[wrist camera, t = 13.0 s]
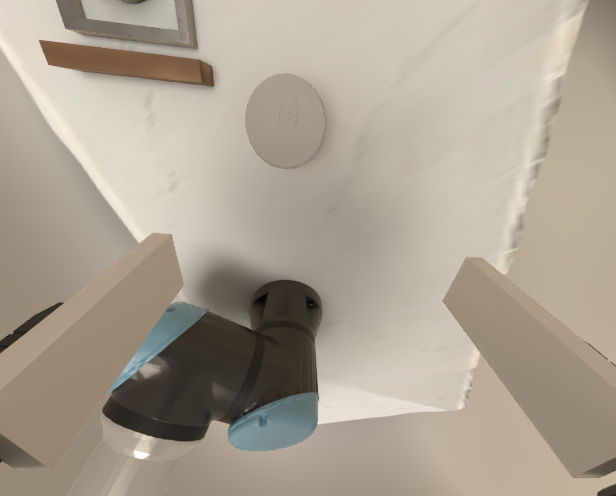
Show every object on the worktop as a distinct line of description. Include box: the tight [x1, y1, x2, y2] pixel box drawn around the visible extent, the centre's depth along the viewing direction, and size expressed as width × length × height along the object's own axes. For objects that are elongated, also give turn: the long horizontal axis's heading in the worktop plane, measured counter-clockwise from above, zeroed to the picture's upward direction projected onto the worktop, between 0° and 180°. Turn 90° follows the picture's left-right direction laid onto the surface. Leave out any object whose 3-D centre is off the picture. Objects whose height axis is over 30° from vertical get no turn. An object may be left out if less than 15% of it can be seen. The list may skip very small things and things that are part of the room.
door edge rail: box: [39, 40, 214, 86], centre depth 26 cm, size 2×16×4 cm, turn 85°
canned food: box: [246, 74, 325, 169], centre depth 26 cm, size 8×8×11 cm
